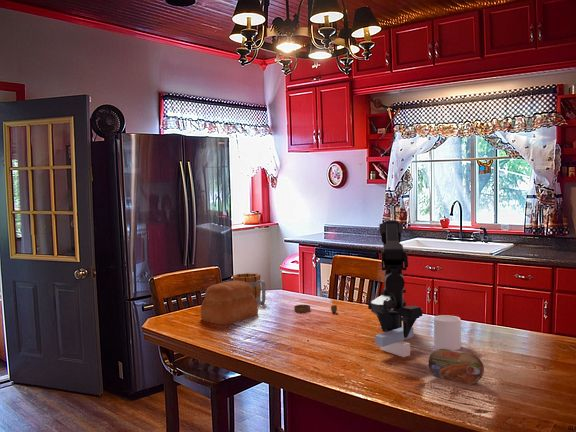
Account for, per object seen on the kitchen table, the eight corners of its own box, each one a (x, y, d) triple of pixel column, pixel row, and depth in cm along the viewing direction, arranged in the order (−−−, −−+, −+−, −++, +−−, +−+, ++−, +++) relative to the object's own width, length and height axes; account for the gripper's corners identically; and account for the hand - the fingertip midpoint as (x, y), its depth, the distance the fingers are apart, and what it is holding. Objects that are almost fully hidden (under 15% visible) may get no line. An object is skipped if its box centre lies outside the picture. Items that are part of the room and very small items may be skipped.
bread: (262, 319, 221) (261, 280, 220) (226, 330, 204) (224, 288, 203) (233, 314, 232) (232, 276, 231) (196, 324, 215) (195, 284, 214)
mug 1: (227, 307, 247) (226, 275, 246) (248, 302, 256) (247, 272, 256) (254, 312, 233) (253, 279, 232) (276, 307, 242) (275, 276, 242)
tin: (428, 376, 147) (427, 347, 147) (432, 373, 150) (432, 345, 149) (481, 388, 138) (481, 357, 137) (485, 384, 140) (485, 354, 140)
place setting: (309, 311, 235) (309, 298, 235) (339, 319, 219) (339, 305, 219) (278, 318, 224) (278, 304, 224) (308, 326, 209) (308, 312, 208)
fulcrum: (369, 355, 167) (369, 340, 167) (395, 348, 174) (395, 333, 174) (394, 364, 158) (394, 348, 158) (421, 356, 165) (420, 341, 165)
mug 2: (471, 347, 173) (470, 316, 173) (452, 355, 165) (452, 322, 165) (447, 342, 179) (447, 312, 179) (428, 350, 171) (428, 318, 171)
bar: (405, 334, 172) (405, 326, 172) (413, 336, 170) (413, 327, 170) (375, 345, 162) (375, 335, 162) (382, 346, 160) (382, 337, 160)
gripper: (355, 285, 168) (356, 333, 169) (398, 294, 153) (399, 345, 154) (379, 281, 175) (380, 327, 175) (423, 289, 159) (424, 339, 160)
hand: (394, 334), depth 166 cm, fingers open, 9 cm apart
